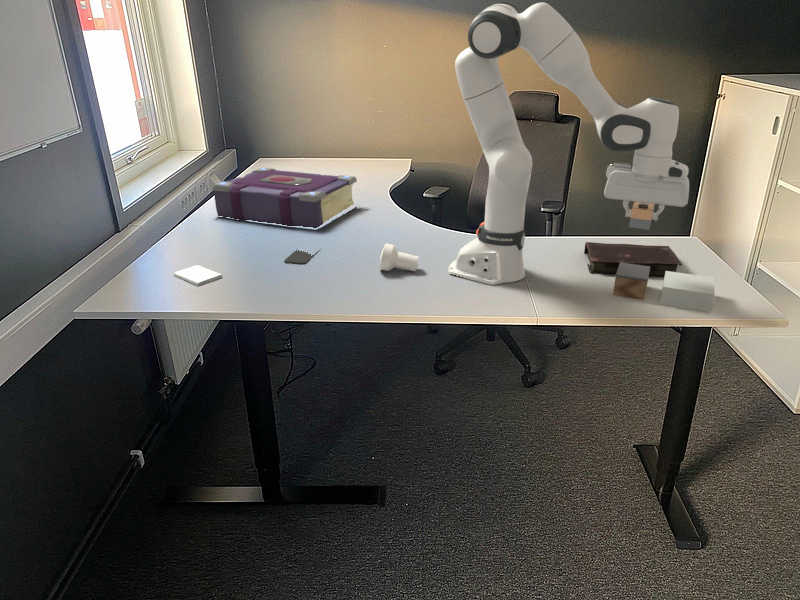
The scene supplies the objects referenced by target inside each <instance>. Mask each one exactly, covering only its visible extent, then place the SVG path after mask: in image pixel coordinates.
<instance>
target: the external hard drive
mask: <svg viewBox="0 0 800 600" xmlns="http://www.w3.org/2000/svg"><path fill="white" fill-rule="evenodd" d="M173 276H175V277H177V278H179V279H182V280H184V281H186V282H189V283H191V284H193V285H195V286H197V287H199V286H202V285H205V284H208V283H210V282H213V281H216V280H219V279H223V274H221V273H219V272H217V271H213V270H211V269H209V268H205V267H203V266H201V265H199V264H198V265H197V264H196V265H193V266H190V267H187V268H183V269H181V270H178V271H175V272H174V273H173Z"/></svg>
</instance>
